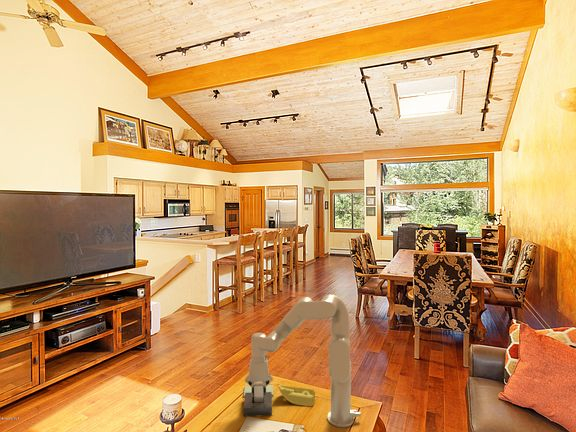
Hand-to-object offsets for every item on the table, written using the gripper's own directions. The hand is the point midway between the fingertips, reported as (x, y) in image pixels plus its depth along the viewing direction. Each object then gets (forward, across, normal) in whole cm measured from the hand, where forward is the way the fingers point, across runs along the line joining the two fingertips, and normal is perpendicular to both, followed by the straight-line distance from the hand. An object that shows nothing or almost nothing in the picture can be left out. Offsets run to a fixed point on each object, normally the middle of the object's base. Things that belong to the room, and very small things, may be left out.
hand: (258, 393), depth 168 cm
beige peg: (+5, 0, 0) cm, 5 cm away
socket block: (+7, 0, 0) cm, 7 cm away
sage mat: (+7, 0, -15) cm, 17 cm away
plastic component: (+8, -20, -7) cm, 23 cm away
